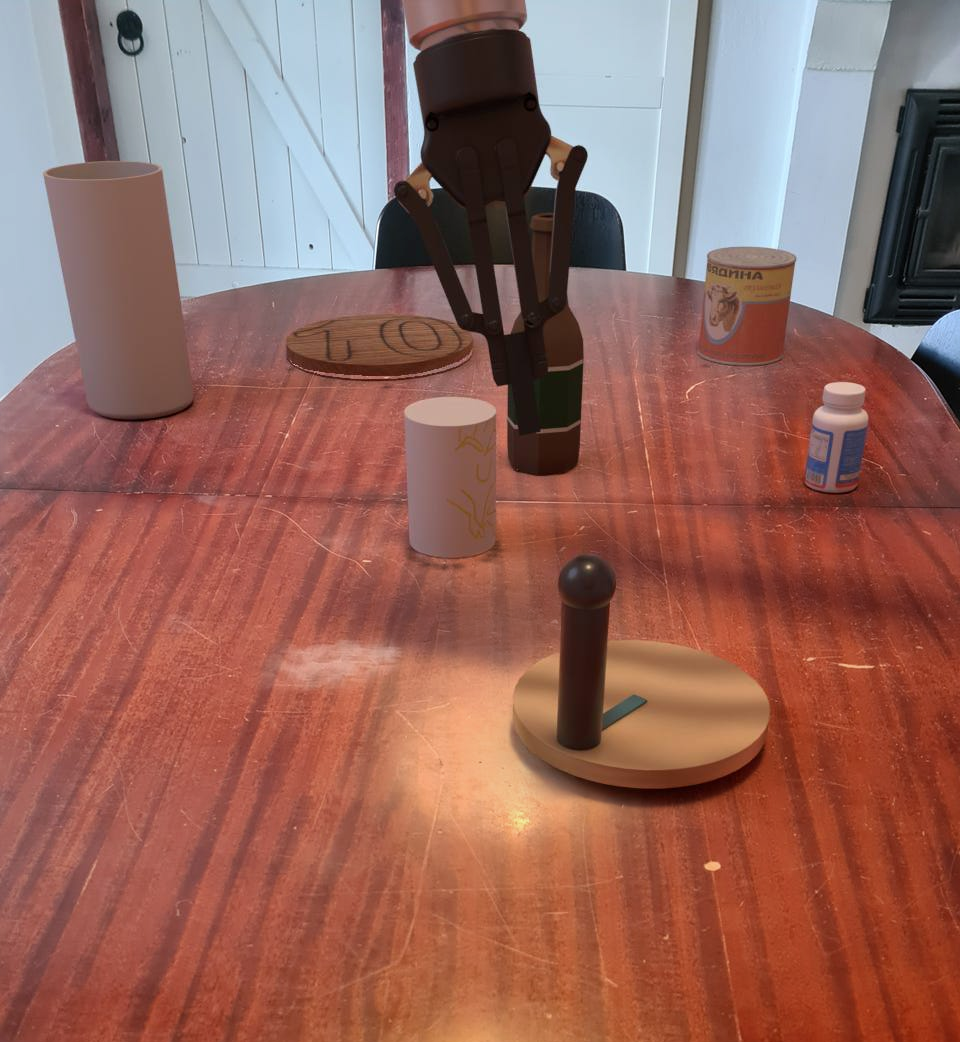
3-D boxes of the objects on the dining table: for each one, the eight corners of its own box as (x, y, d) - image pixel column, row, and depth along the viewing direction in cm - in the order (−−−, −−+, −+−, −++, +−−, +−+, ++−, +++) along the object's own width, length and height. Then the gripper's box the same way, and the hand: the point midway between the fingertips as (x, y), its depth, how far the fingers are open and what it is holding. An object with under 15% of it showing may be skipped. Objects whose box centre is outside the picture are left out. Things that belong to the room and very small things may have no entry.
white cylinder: (468, 564, 112) (467, 431, 104) (392, 547, 115) (386, 417, 108) (511, 533, 117) (512, 405, 110) (437, 517, 120) (434, 391, 113)
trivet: (298, 386, 154) (297, 371, 153) (277, 334, 173) (275, 320, 172) (492, 372, 158) (492, 357, 157) (450, 323, 178) (450, 309, 177)
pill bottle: (856, 477, 129) (874, 381, 123) (857, 496, 124) (875, 397, 118) (803, 473, 130) (818, 377, 124) (802, 492, 125) (817, 394, 119)
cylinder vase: (171, 383, 155) (137, 157, 140) (211, 409, 147) (179, 172, 132) (74, 400, 150) (27, 167, 135) (110, 429, 142) (65, 184, 126)
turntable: (536, 647, 96) (541, 464, 87) (770, 669, 93) (800, 482, 84) (489, 772, 82) (490, 568, 73) (763, 803, 79) (798, 595, 70)
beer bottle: (582, 453, 135) (594, 208, 120) (574, 478, 129) (585, 224, 114) (512, 449, 136) (515, 206, 121) (501, 474, 130) (502, 221, 115)
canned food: (680, 353, 165) (689, 255, 158) (733, 337, 171) (744, 242, 164) (747, 371, 159) (759, 270, 151) (800, 354, 165) (814, 256, 157)
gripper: (569, 35, 80) (617, 413, 89) (373, 75, 81) (440, 445, 90) (576, 5, 73) (627, 418, 82) (362, 50, 74) (435, 453, 83)
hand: (529, 432), depth 86 cm, fingers closed
